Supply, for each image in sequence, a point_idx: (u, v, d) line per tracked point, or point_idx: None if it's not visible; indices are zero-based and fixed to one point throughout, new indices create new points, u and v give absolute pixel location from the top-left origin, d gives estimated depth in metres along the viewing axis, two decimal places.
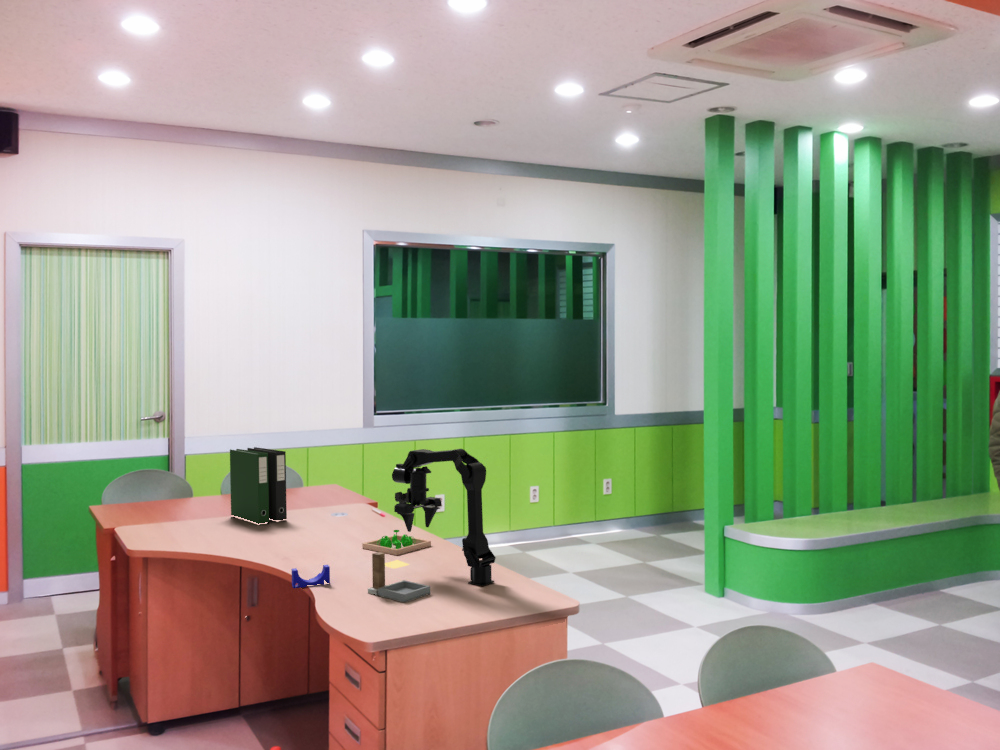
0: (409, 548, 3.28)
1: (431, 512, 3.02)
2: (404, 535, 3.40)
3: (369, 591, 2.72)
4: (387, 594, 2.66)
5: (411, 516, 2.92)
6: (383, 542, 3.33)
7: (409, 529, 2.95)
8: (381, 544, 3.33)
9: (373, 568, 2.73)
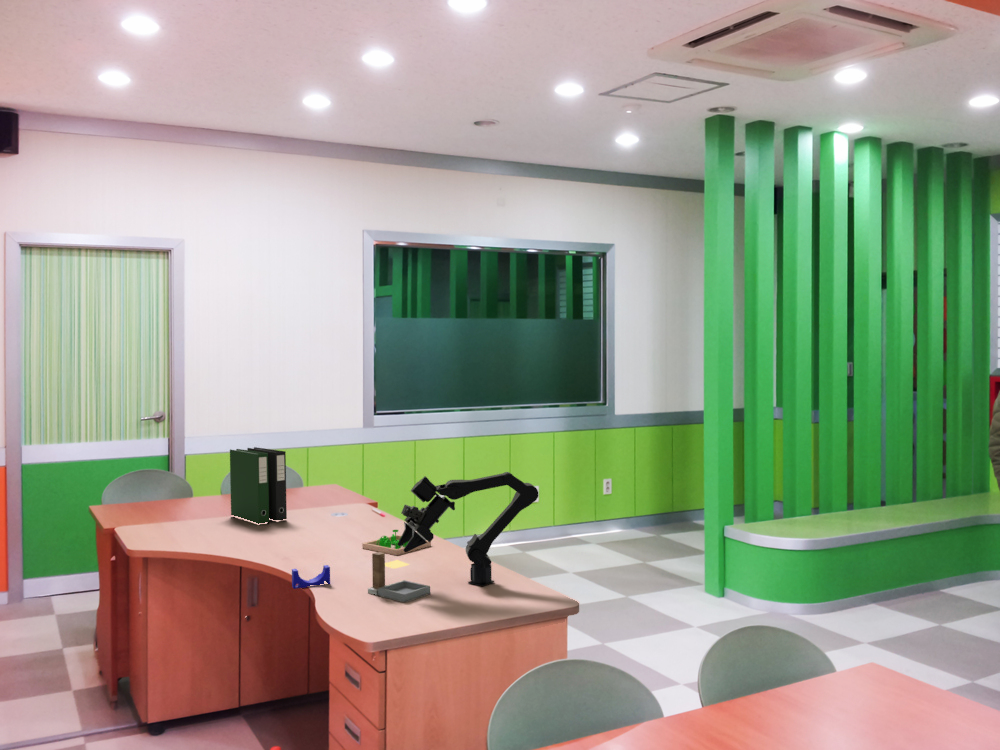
0: None
1: None
2: None
3: (369, 591, 2.72)
4: (387, 594, 2.66)
5: None
6: (382, 542, 3.33)
7: (407, 550, 2.72)
8: (380, 544, 3.34)
9: (373, 568, 2.73)
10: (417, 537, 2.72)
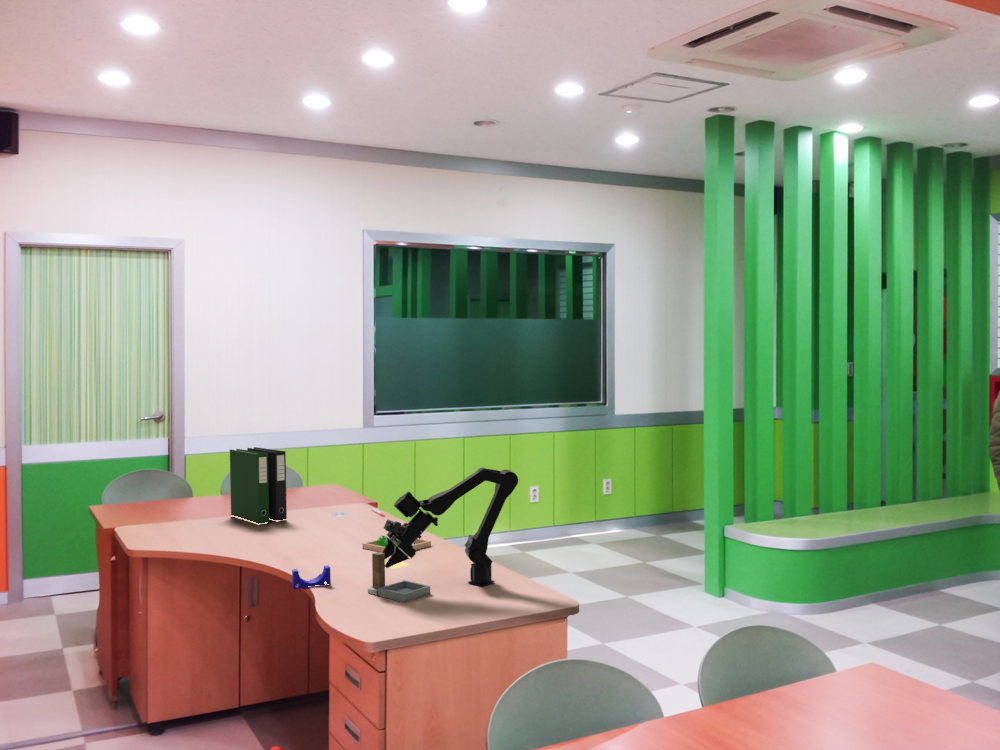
0: None
1: None
2: None
3: (369, 591, 2.72)
4: (387, 594, 2.66)
5: None
6: (381, 542, 3.34)
7: (389, 566, 2.69)
8: (379, 544, 3.34)
9: (373, 568, 2.73)
10: (399, 553, 2.69)
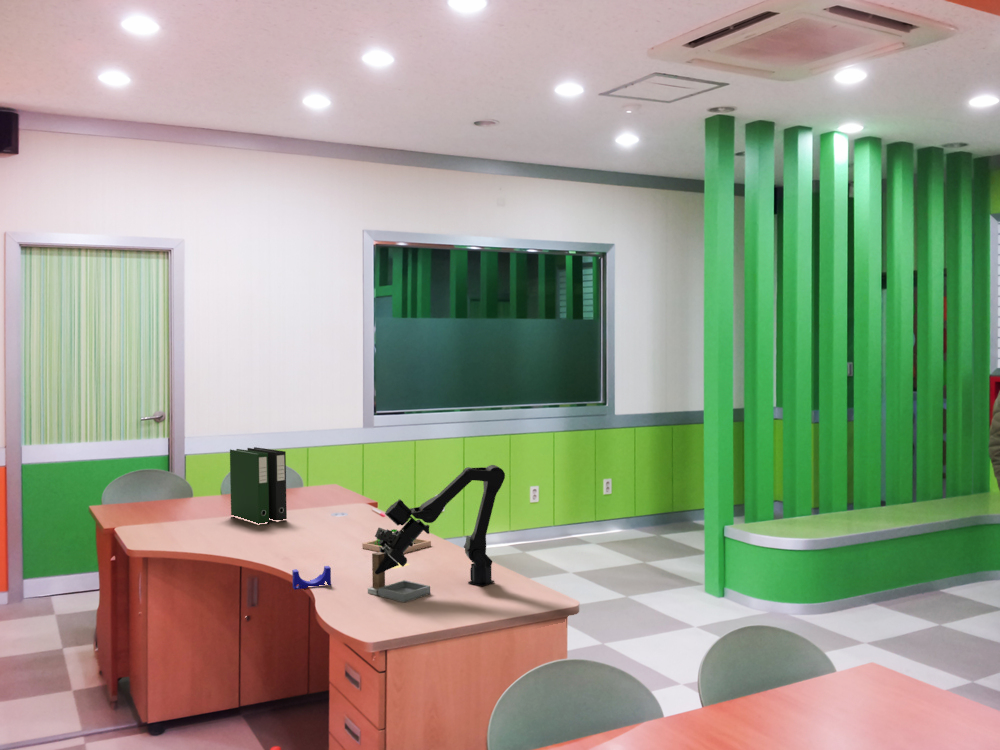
0: (409, 548, 3.28)
1: None
2: None
3: (369, 591, 2.72)
4: (387, 594, 2.66)
5: None
6: None
7: (378, 572, 2.71)
8: (379, 544, 3.34)
9: (373, 568, 2.73)
10: (389, 559, 2.71)
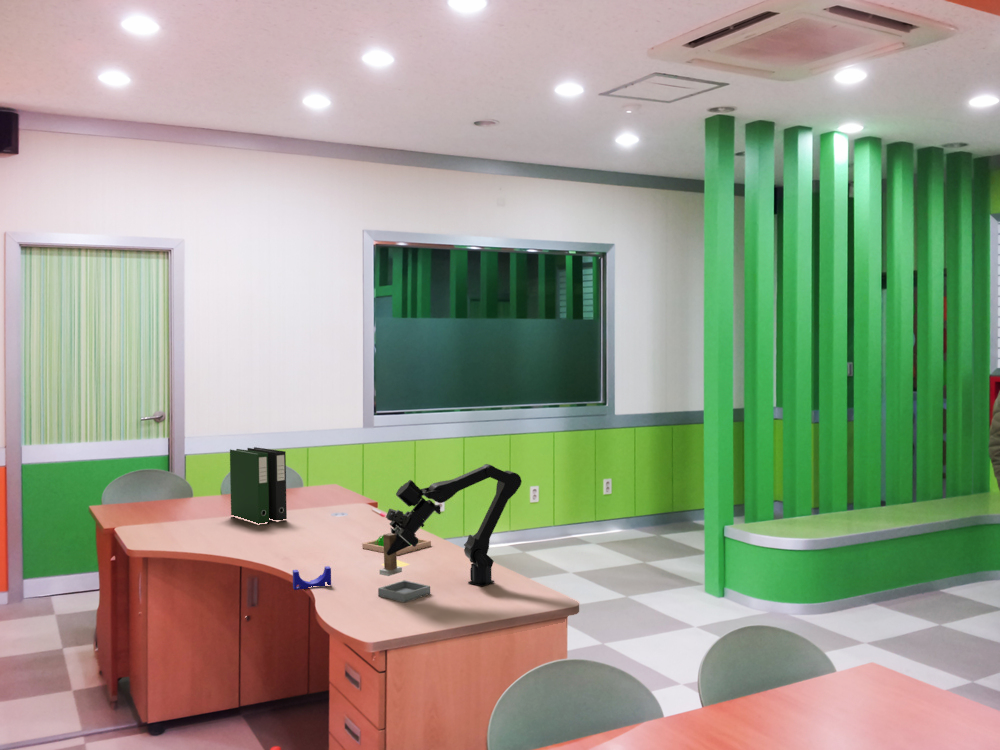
0: (409, 548, 3.28)
1: None
2: None
3: (381, 572, 2.70)
4: (387, 594, 2.66)
5: None
6: (381, 542, 3.34)
7: (390, 553, 2.69)
8: (379, 544, 3.34)
9: (384, 549, 2.71)
10: (400, 540, 2.69)
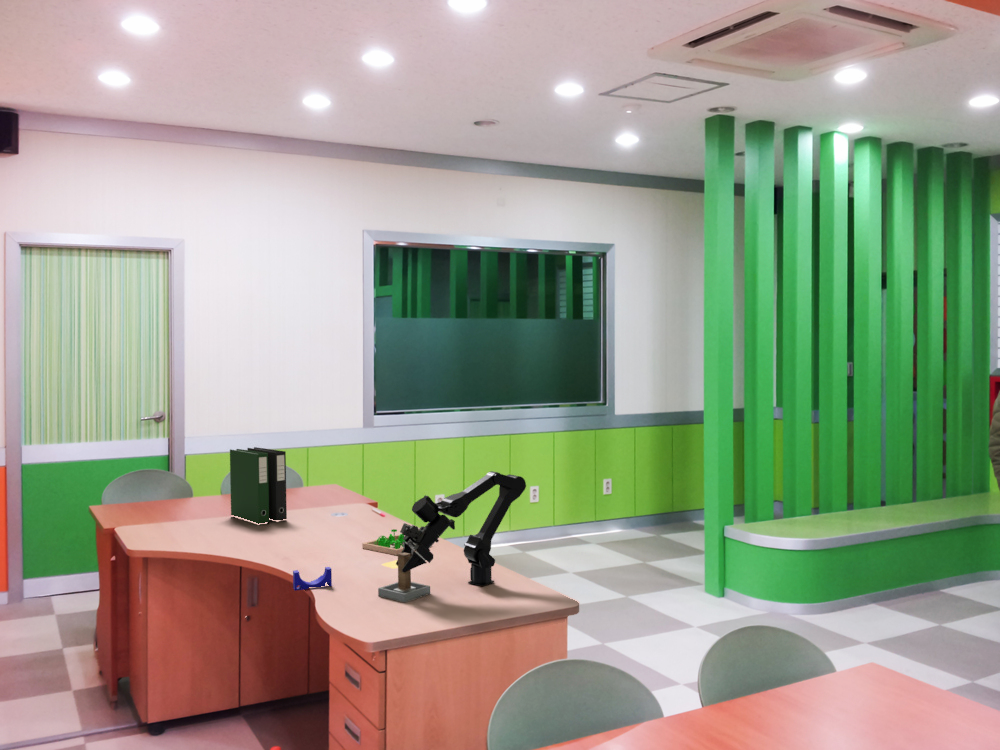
0: None
1: None
2: (401, 534, 3.41)
3: None
4: (387, 594, 2.66)
5: None
6: (381, 542, 3.34)
7: (406, 570, 2.65)
8: (379, 544, 3.34)
9: (399, 569, 2.69)
10: (416, 557, 2.65)
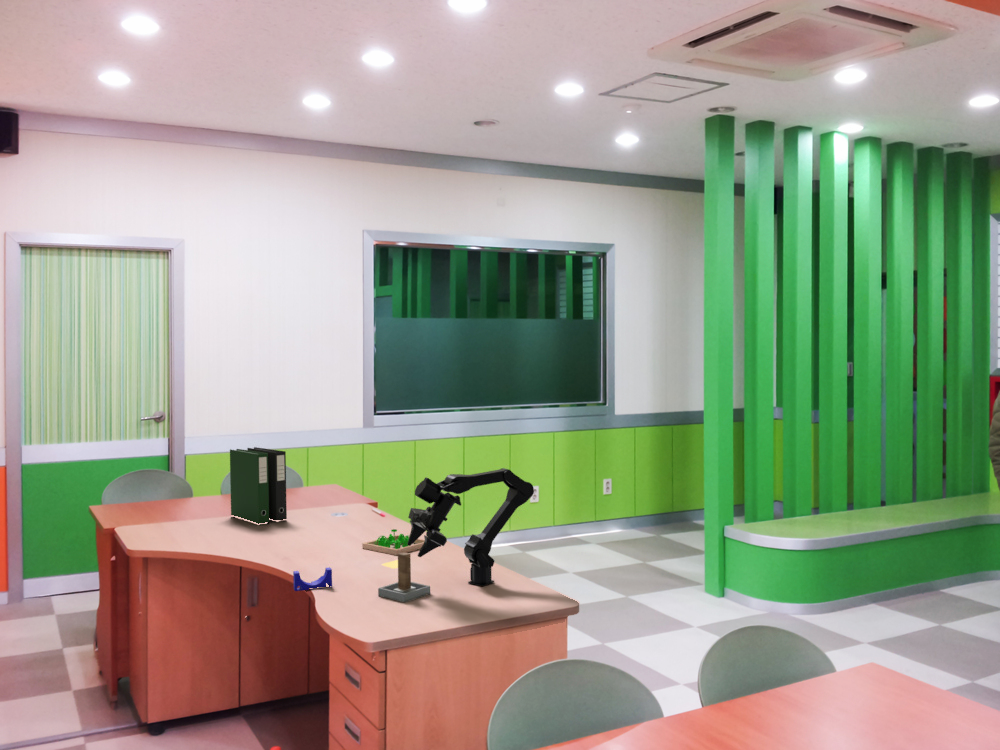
0: (409, 548, 3.28)
1: (421, 532, 2.80)
2: (401, 534, 3.41)
3: None
4: (387, 594, 2.66)
5: None
6: (381, 542, 3.34)
7: (421, 555, 2.71)
8: (379, 544, 3.34)
9: (399, 569, 2.69)
10: (430, 541, 2.70)
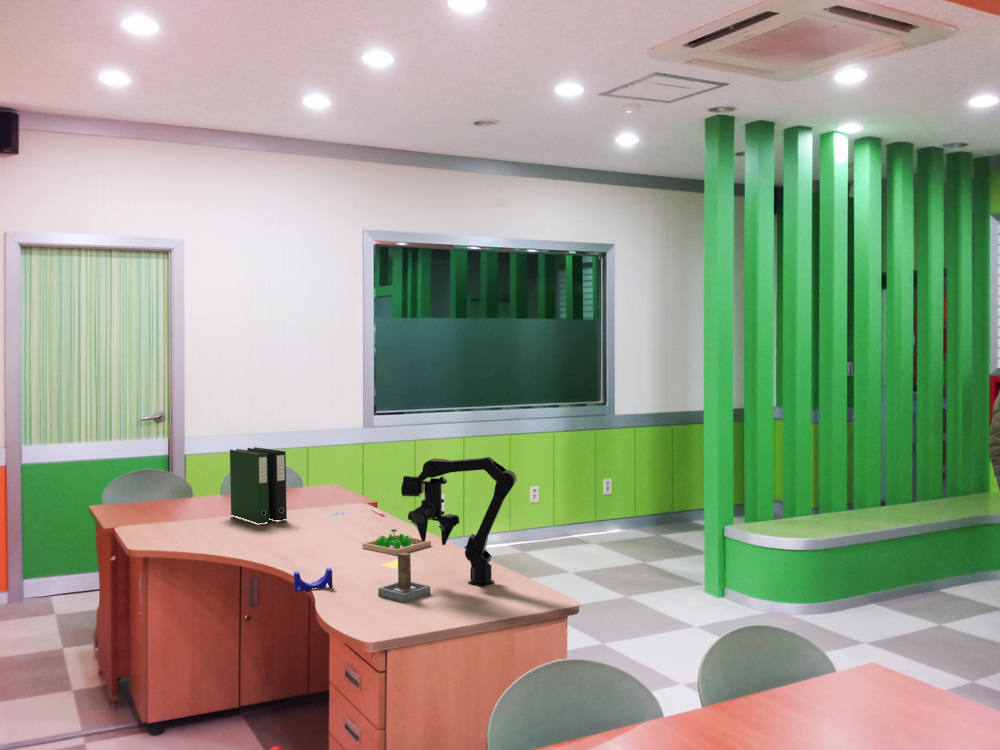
0: (409, 548, 3.28)
1: (426, 524, 2.89)
2: (400, 534, 3.41)
3: None
4: (387, 594, 2.66)
5: None
6: (381, 542, 3.34)
7: (445, 542, 2.82)
8: (379, 544, 3.34)
9: (399, 569, 2.69)
10: (445, 527, 2.81)
